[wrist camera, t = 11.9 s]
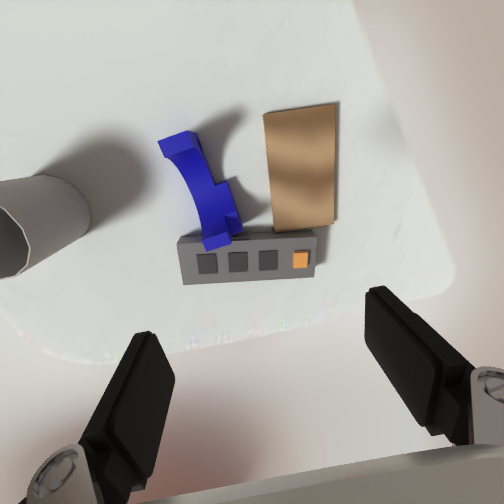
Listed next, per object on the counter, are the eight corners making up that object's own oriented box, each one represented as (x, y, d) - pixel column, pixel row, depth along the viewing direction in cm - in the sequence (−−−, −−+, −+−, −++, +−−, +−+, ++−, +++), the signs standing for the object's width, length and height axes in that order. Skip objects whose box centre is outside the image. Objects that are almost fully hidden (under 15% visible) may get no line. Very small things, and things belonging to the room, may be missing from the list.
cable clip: (242, 223, 32) (243, 239, 27) (211, 234, 33) (206, 252, 27) (208, 128, 27) (202, 124, 22) (172, 142, 28) (157, 141, 22)
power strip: (187, 274, 35) (182, 287, 32) (180, 233, 33) (175, 243, 29) (307, 267, 36) (315, 279, 33) (311, 227, 33) (319, 236, 30)
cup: (21, 233, 31) (-69, 270, 22) (12, 167, 28) (-98, 178, 18) (91, 246, 32) (35, 286, 23) (91, 185, 29) (25, 203, 20)
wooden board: (262, 115, 27) (263, 114, 26) (332, 104, 27) (335, 103, 26) (274, 230, 33) (275, 232, 32) (331, 222, 33) (333, 224, 32)
